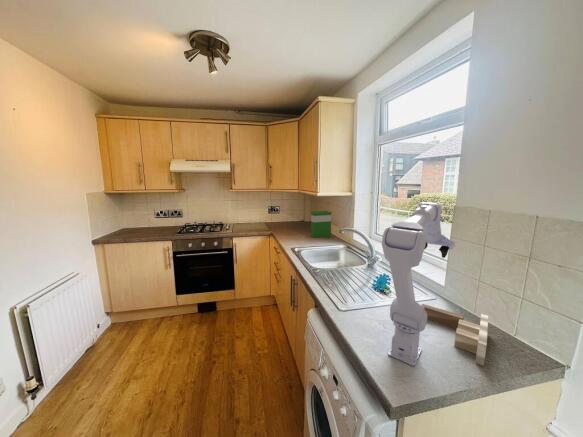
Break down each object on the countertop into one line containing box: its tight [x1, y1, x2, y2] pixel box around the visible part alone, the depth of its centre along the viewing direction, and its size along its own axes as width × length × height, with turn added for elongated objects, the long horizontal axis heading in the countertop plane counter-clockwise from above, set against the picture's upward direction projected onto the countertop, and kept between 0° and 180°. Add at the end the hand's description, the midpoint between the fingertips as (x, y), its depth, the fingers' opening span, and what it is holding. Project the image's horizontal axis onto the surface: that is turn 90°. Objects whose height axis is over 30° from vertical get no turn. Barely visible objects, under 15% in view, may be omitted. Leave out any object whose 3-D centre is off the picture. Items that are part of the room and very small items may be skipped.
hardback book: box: [310, 210, 332, 239], centre depth 235 cm, size 18×7×24 cm, turn 108°
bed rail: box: [420, 303, 465, 330], centre depth 96 cm, size 3×14×5 cm, turn 50°
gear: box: [371, 273, 392, 293], centre depth 125 cm, size 11×6×10 cm
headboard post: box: [454, 313, 489, 367], centre depth 83 cm, size 20×8×7 cm, turn 141°
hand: (434, 251), depth 97 cm, fingers open, 7 cm apart
